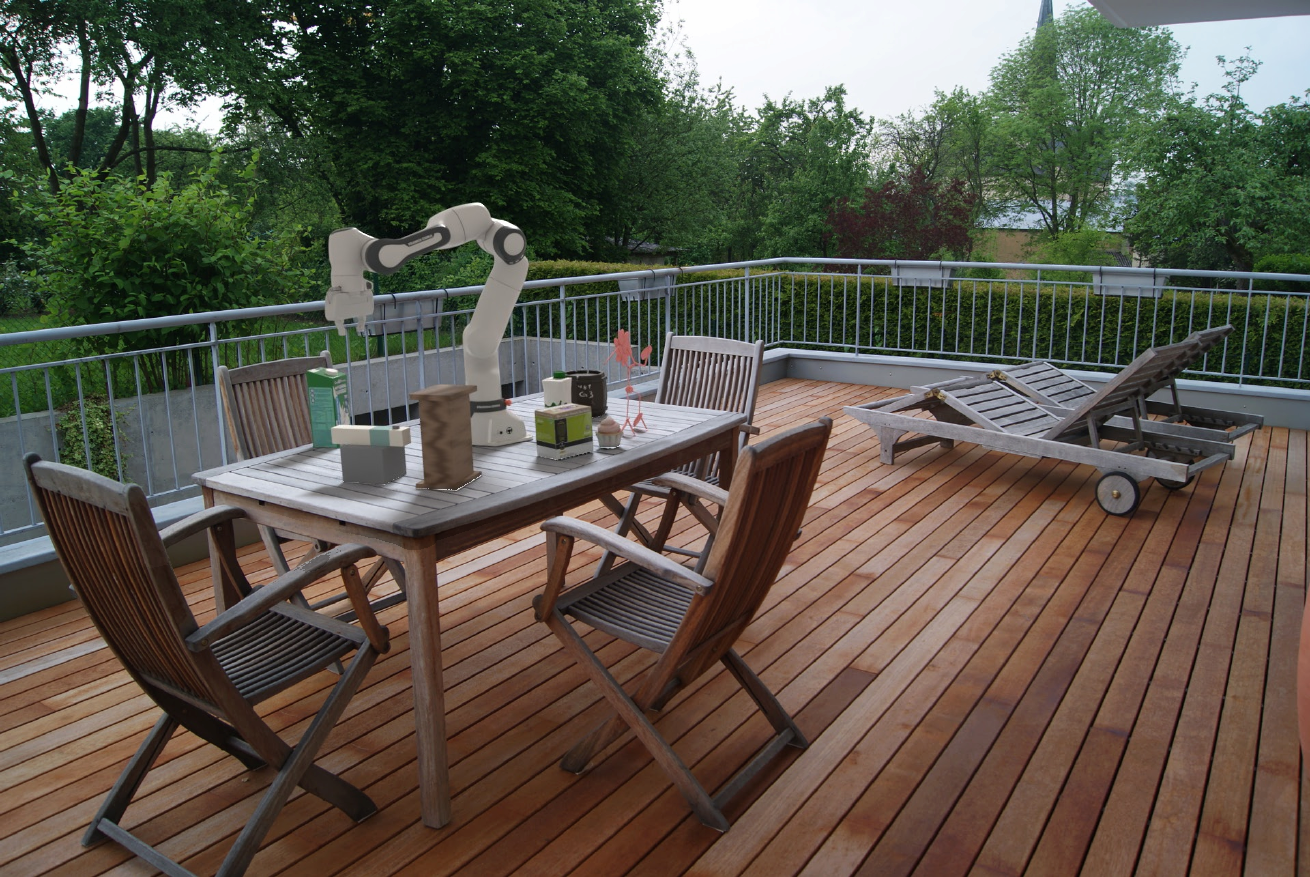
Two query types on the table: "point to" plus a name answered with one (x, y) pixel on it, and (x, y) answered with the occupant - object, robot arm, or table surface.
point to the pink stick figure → (622, 355)
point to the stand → (446, 436)
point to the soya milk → (557, 390)
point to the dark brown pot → (589, 390)
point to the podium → (372, 463)
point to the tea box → (563, 431)
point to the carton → (371, 435)
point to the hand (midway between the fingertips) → (351, 333)
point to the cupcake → (609, 433)
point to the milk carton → (327, 404)
